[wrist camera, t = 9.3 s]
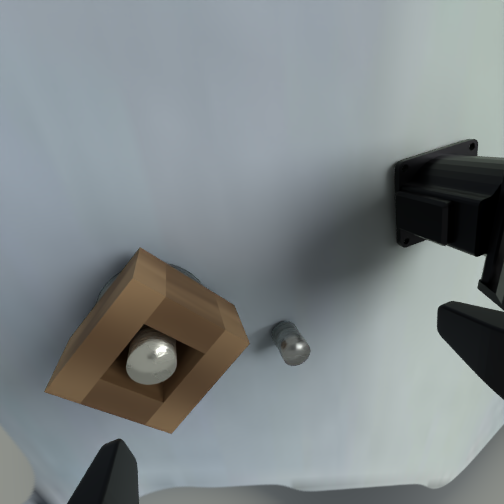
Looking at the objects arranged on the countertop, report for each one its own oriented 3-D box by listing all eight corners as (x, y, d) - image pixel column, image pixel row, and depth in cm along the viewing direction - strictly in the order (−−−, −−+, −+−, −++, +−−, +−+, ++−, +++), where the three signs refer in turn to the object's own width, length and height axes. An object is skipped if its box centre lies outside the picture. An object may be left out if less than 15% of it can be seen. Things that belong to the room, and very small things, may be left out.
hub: (190, 247, 18) (197, 283, 14) (221, 333, 21) (236, 386, 17) (74, 285, 17) (42, 337, 13) (123, 370, 20) (111, 437, 16)
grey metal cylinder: (293, 317, 22) (308, 337, 20) (298, 337, 23) (312, 359, 21) (269, 327, 22) (281, 348, 20) (274, 347, 23) (286, 369, 21)
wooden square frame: (139, 247, 16) (132, 278, 13) (234, 305, 19) (249, 343, 16) (69, 338, 17) (44, 391, 14) (170, 380, 20) (171, 433, 17)
